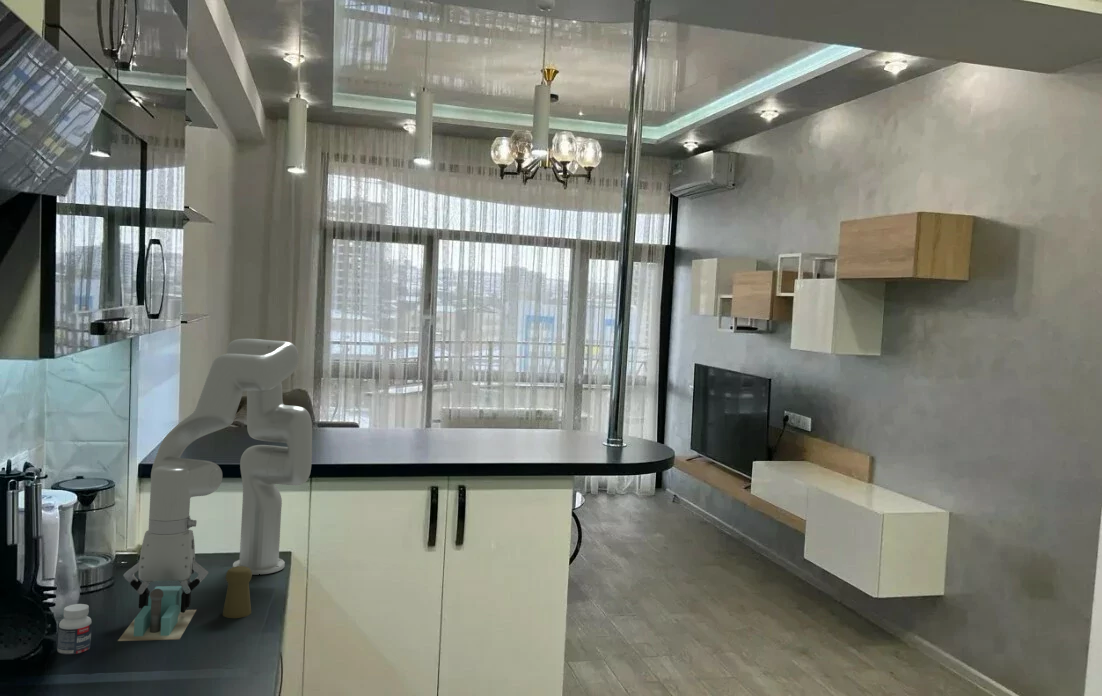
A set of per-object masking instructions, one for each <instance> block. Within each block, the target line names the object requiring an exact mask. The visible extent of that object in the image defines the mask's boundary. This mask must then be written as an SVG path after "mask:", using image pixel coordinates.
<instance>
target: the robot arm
mask: <svg viewBox="0 0 1102 696" xmlns="http://www.w3.org/2000/svg"><path fill="white" fill-rule="evenodd" d="M299 353H300V352H299V351H298V348H297V346H296V345H295V344H294V343H293V342H290V341H287V340H286V341H285V340H274V339H273V340H272V339H271V340H270V339H260V338H259V339H258V338H238V339H234V340H231V341H230V342H229V344H228V345H227V348H226V353H223V354H220V355H218V356H217V357H215V359H214V360H213V361H212V364H211V366H210V369H209V371H208V373H207V374H208V375H207V377H206V379H205V383H204V385H203V388H202V391H201V393H200V396H199V398H198V401H197V404H196V407H195V409H194V411H192V413H191V414H189V415H188V416H187V417H185V418H183V419H182V421H180V422H179V423H177V424H176V425H175V426H174V427H173V429H171V430H170V431H169V432H168V434H166V435H165V437H164V438H163V440H162V441H161V443H160V444H159V448H158V451H157V453H156V456H155V458H154V460H153V463H152V468H151V472H150V490H149V491H150V492H149V495H150V496H149V509H148V510H149V513H148V530H146V531H145V533H144V536H143V539H142V542H141V543H142V544H141V550H140V556H139V561H138V562H137V563H136V564H135V565H133V566H132V567H130V568H129V569H128V570H127V571H126V572H124V574H123V578H124V579H125V580H126V581H127V582H128V583H129V584H130V586H131V587H132V588H133V589H134V591H135V590H136V593H137V594H138V595H139V596H138V597H139V598H138V608H139V609H141V610H142V608H143V607H144V606H148V599H149V595H150V593H151V592H150V589H149V588H148V587H149V586H150V584H151V583H166V582H169V583H172V582H173V583H174V582H177V583H179V584H180V586H182V590H183V592H182V594H181V612H182V613H185V611H186V610H188V608H190V607H191V603H192V602H191V600H192V591H193V590H195V589H196V587H197V586H199V584H201V582H202V581H203V580H204V579H205V578H207V576H208V574H209V570H207V569H206V568H204V567H203V566H202V565H201V564H199V562H197V561H196V551H195V550H196V549H195V536H194V535H195V534H194V532H193V531H194V530H193V529H191V528H193V527H195V528H196V526H197V520H196V519H195V520H194V519H192V518H191V515H190V508H191V506H190V505H191V498H193V497H205V496H209V495H211V494H213V493H215V492H216V491H217V490H218V488H220V486H221V484H222V482H223V470H222V469H221V467H220V466H219V465H218V464H217V463H216V462H213V461H210V460H204V459H193V458H182V457H181V456H182V454H183V453H184V452H185V450H186V448H187V447H189V446H190V445H191V444H192V443H194V442H195V441H196V440H197V439H200V438H202V437H204V436H206V435H209V434H212V433H214V432H217V431H221V430H222V429H225V428H228V427H229V426H231V425H232V424H233V422H234V421H235V418H236V415H237V411H238V409H239V406H240V402H241V400H242V398H243V395H244V393H245V392H246V427H247V433H248V435H249V437H250V438H252V439H254V440H258V441H263V442H272V443H284V444H286V445H287V446H280V445H271V444H270V445H267V444H257V445H256V444H255V445H251V446H249V447H248V448H246V449H245V450H244V452H243V453H242V455H241V456H240V459H239V461H240V462H239V463H240V464H239V466H240V467H239V469H240V475H241V483H242V508H241V524H240V525H241V528H240V544H239V545H240V546H239V548H240V549H239V559H238V560H235V561H234V562H233V563H232V567H237V566H245V567H248V568H250V570H251V571H252V576H253V575H254V576H255V575H257V576H258V575H259V574H260V575H268V574H273V573H277V572H279V571H281V570H283V569H284V568H285V565H286V564H285V563H286V562H285V561H284V560H283V559H282V558H280V543H281V541H280V538H281V522H282V521H281V520H282V504H283V503H282V501H283V499H282V495H281V492H280V490H279V488H278V487H277V485H282V486H283V485H285V486H301V485H303V484H305V483H306V482H307V481H308V480H309V477H311V476H310V475H311V470H312V463H313V462H312V459H313V457H312V456H313V455H312V454H313V452H312V451H313V422H312V418H311V414H310V413H309V411H308V410H307V409H306V408H305V407H302V406H298V405H288V404H284V401H283V384H282V382H283V381H285V380H286V379H288V378H289V377H290V376H291V375H292V374H294V372H295V371H296V369H297V367H298V365H299V361H300V354H299ZM137 572H138V573H137ZM195 572H196V574H197V576H196V577H195V578H194V579H193V580H192V579H191V575H193V574H194V573H195ZM136 573H137V577H138V578H137V577H136V576H135V574H136ZM141 610H140V611H141Z"/></svg>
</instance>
